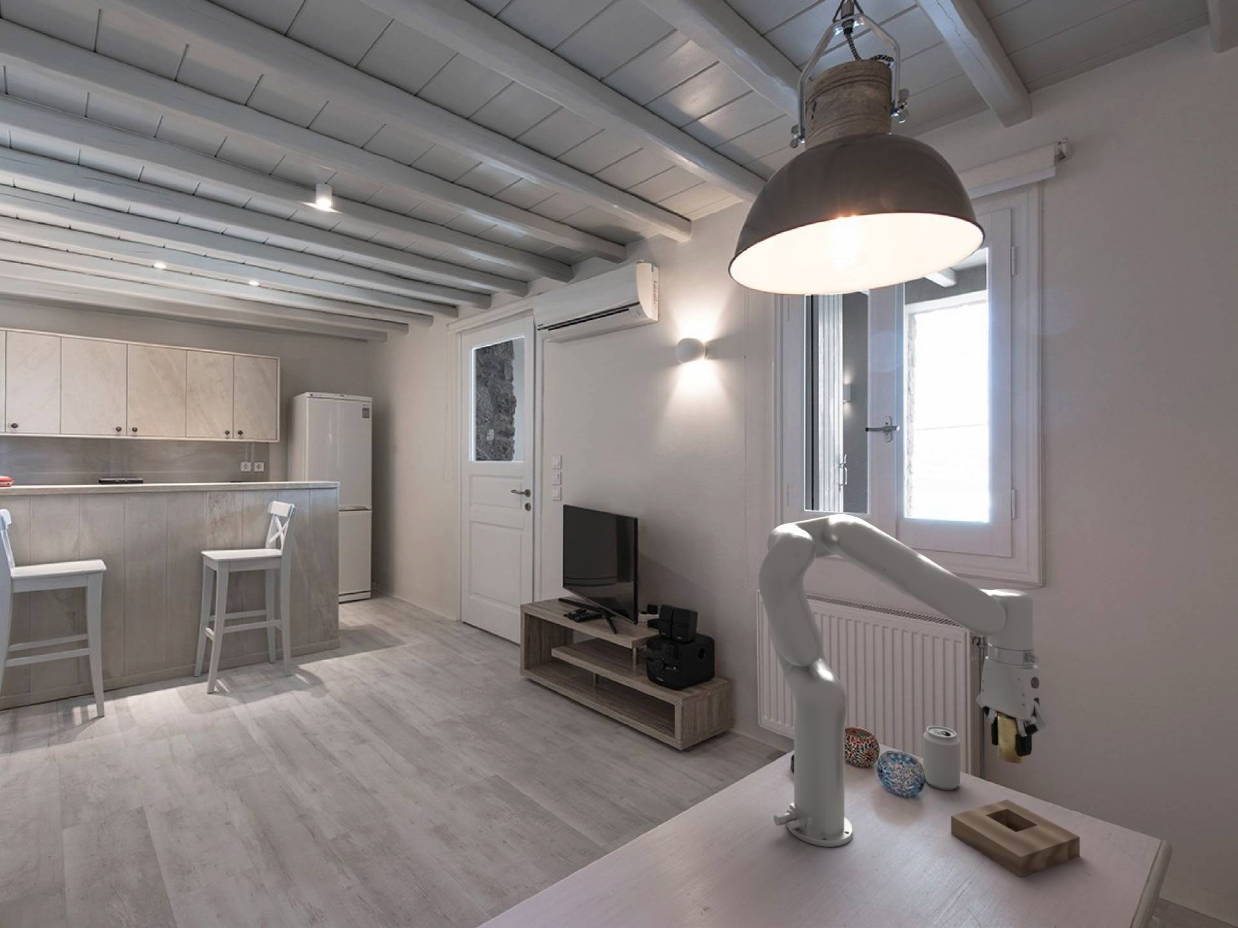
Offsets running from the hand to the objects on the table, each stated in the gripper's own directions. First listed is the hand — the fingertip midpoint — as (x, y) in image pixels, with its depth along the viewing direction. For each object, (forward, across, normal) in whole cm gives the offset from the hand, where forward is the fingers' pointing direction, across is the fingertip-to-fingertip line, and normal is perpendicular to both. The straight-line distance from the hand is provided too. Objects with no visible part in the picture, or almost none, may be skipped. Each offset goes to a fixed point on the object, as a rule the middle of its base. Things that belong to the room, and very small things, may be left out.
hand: (1011, 748), depth 120 cm
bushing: (+2, 0, 0) cm, 2 cm away
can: (+18, +21, -6) cm, 28 cm away
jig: (+18, -1, +1) cm, 18 cm away
